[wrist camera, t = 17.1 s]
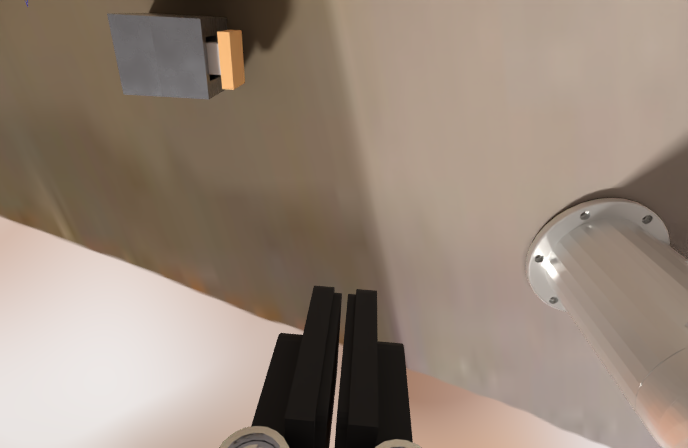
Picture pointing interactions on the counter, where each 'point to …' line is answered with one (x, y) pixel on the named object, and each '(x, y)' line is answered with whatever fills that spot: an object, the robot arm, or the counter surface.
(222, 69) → the plunger
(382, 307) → the counter surface
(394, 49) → the counter surface
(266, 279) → the counter surface
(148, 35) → the grey metal housing
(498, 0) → the counter surface
